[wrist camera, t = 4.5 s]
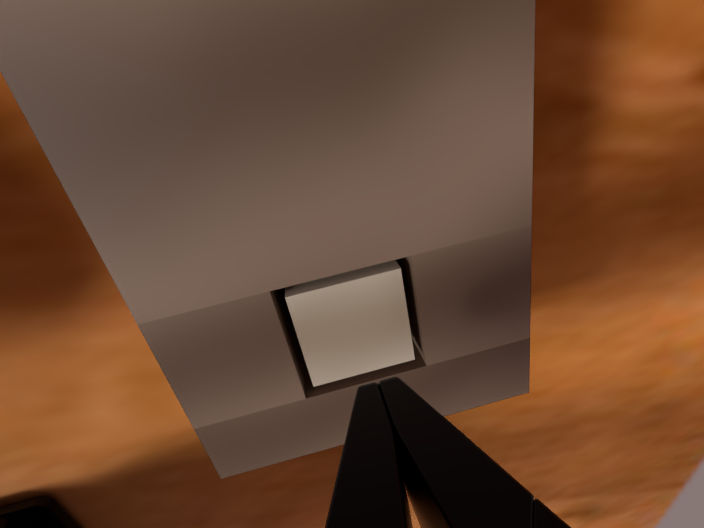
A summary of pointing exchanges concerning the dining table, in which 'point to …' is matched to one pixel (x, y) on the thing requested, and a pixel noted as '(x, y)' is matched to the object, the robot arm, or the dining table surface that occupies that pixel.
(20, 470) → the dining table surface
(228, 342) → the grey peg board
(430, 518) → the robot arm
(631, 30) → the dining table surface
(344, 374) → the peg
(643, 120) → the dining table surface
